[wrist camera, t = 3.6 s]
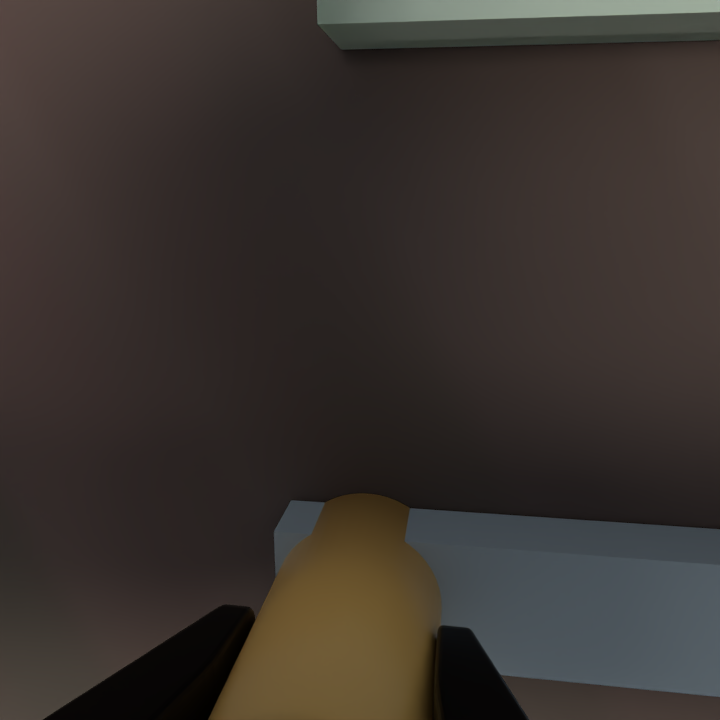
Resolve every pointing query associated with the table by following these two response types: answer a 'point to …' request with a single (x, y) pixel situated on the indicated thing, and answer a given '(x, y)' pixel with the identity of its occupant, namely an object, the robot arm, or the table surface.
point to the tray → (514, 22)
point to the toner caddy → (470, 607)
